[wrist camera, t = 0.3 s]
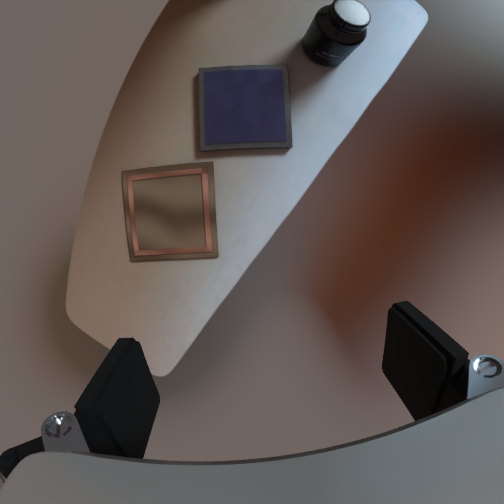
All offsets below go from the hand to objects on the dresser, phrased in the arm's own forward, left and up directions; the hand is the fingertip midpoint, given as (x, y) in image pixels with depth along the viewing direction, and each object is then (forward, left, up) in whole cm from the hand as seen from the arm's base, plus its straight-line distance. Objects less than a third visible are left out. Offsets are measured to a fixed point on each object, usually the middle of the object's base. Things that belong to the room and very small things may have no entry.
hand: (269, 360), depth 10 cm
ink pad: (-16, 0, -31) cm, 35 cm away
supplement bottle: (-26, +12, -31) cm, 42 cm away
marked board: (-2, -11, -31) cm, 32 cm away
